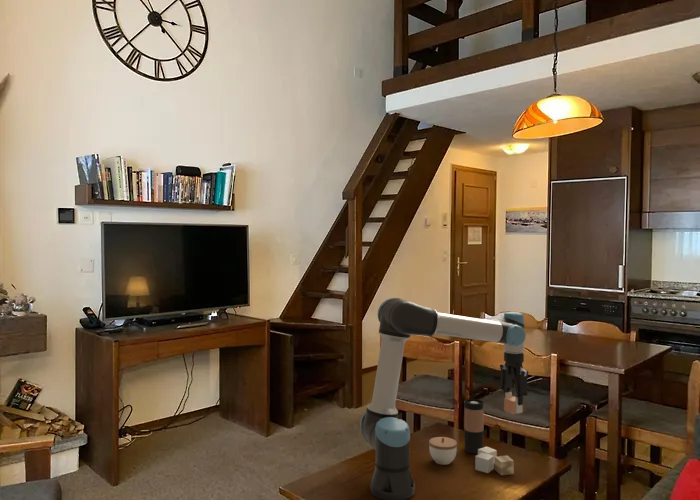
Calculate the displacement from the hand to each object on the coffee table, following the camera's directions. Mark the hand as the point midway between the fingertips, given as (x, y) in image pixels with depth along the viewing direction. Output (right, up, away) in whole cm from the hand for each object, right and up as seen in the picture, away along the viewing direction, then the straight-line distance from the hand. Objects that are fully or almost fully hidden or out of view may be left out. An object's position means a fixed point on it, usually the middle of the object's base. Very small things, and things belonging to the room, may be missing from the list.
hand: (513, 410), depth 215 cm
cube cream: (-11, -19, -4) cm, 22 cm away
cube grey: (-14, -19, -10) cm, 26 cm away
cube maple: (-7, -19, -12) cm, 24 cm away
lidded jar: (-28, -19, -3) cm, 34 cm away
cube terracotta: (0, 0, 0) cm, 0 cm away
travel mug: (-14, -19, +8) cm, 25 cm away
